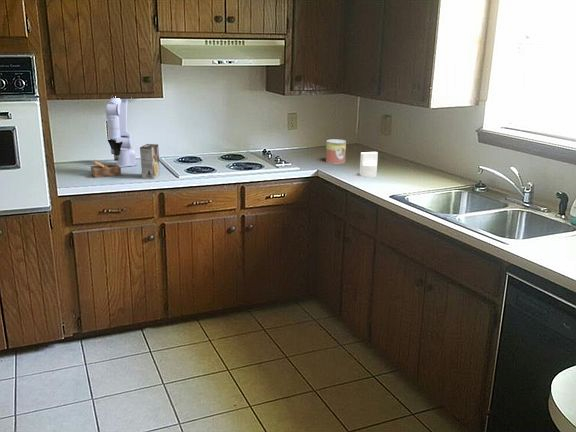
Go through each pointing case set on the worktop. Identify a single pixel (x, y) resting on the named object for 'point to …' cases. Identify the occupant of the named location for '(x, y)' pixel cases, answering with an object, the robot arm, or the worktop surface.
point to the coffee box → (150, 161)
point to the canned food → (335, 151)
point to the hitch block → (105, 170)
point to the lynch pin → (116, 158)
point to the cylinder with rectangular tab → (368, 164)
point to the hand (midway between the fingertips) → (115, 154)
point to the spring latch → (98, 163)
